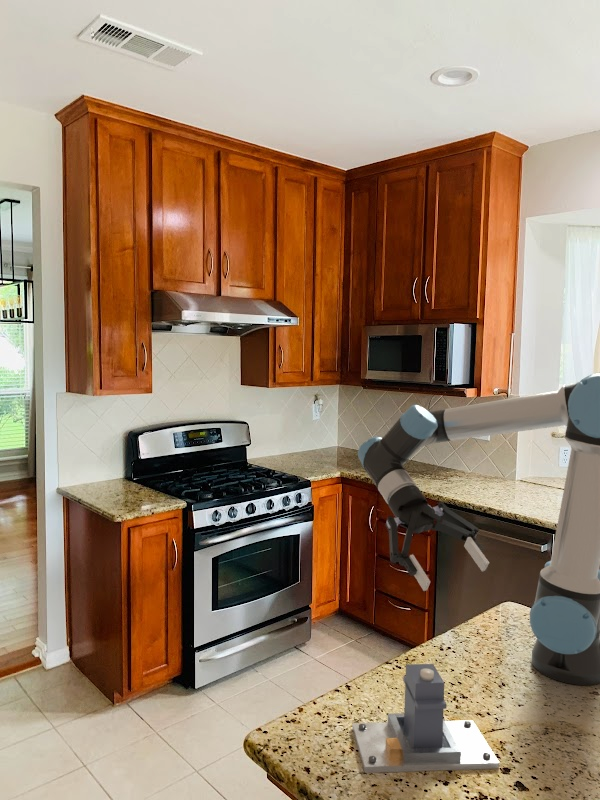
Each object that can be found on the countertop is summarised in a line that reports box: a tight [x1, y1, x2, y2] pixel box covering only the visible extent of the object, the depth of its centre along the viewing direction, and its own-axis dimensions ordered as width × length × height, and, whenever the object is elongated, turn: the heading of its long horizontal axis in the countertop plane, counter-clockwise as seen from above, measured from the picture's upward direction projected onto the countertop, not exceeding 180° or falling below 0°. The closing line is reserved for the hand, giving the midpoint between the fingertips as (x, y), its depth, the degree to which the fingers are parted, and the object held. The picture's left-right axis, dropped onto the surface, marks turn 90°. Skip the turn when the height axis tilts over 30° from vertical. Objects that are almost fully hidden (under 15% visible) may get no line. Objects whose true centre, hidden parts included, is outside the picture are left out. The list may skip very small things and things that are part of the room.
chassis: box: [351, 712, 500, 774], centre depth 106 cm, size 22×12×3 cm, turn 95°
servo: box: [402, 663, 448, 749], centre depth 105 cm, size 5×9×13 cm, turn 5°
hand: (457, 576), depth 119 cm, fingers open, 13 cm apart
